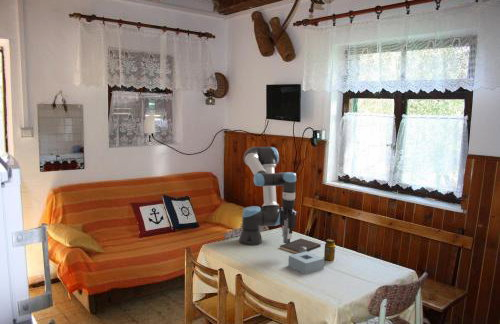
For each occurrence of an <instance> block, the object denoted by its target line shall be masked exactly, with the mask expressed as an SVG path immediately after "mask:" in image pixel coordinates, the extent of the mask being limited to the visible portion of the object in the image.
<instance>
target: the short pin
mask: <svg viewBox="0 0 500 324" xmlns="http://www.w3.org/2000/svg"><path fill="white" fill-rule="evenodd" d="M306 251H307V247H303V246H302V247H300V253H302V252H306Z"/></svg>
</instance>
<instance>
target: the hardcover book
mask: <svg viewBox="0 0 500 324" xmlns="http://www.w3.org/2000/svg"><path fill="white" fill-rule="evenodd" d="M302 246H303V247H307V252H310V251H313V250H315V249H319V248H321V246H322V244H321V243H318V242H315V241H311V240H307V239H304V238H297V239H295V240H293V241H290V243H283V244H280V245H279V249H281V250H284V251H288V252H291V253H293V254H298V253H300V247H302Z"/></svg>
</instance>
